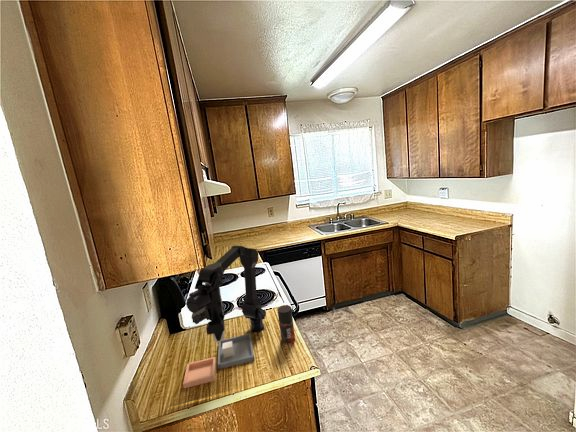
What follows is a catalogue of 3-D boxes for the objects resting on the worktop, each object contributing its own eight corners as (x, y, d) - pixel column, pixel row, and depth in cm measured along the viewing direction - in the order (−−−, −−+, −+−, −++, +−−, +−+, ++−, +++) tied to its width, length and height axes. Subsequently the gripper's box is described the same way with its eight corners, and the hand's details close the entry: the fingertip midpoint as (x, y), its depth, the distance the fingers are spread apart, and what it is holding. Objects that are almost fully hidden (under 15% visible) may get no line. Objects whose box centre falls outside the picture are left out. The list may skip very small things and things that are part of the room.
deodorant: (286, 346, 113) (282, 314, 111) (278, 340, 118) (274, 309, 116) (297, 340, 117) (294, 308, 114) (289, 334, 122) (286, 303, 119)
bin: (219, 345, 119) (218, 340, 119) (251, 338, 122) (250, 333, 122) (218, 370, 104) (217, 365, 104) (254, 361, 107) (253, 356, 106)
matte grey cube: (214, 336, 107) (212, 327, 106) (224, 334, 108) (223, 325, 107) (213, 342, 103) (212, 332, 102) (224, 340, 104) (223, 330, 103)
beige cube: (224, 351, 114) (222, 343, 113) (233, 349, 115) (232, 340, 114) (223, 357, 110) (222, 349, 109) (233, 355, 111) (232, 346, 110)
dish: (188, 368, 107) (187, 363, 106) (216, 362, 109) (215, 356, 109) (184, 389, 96) (182, 383, 96) (215, 381, 99) (214, 376, 98)
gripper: (194, 294, 110) (199, 329, 112) (188, 316, 92) (195, 357, 94) (221, 289, 113) (226, 323, 115) (221, 309, 95) (227, 350, 97)
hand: (219, 337), depth 105 cm, fingers closed on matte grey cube, 4 cm apart
